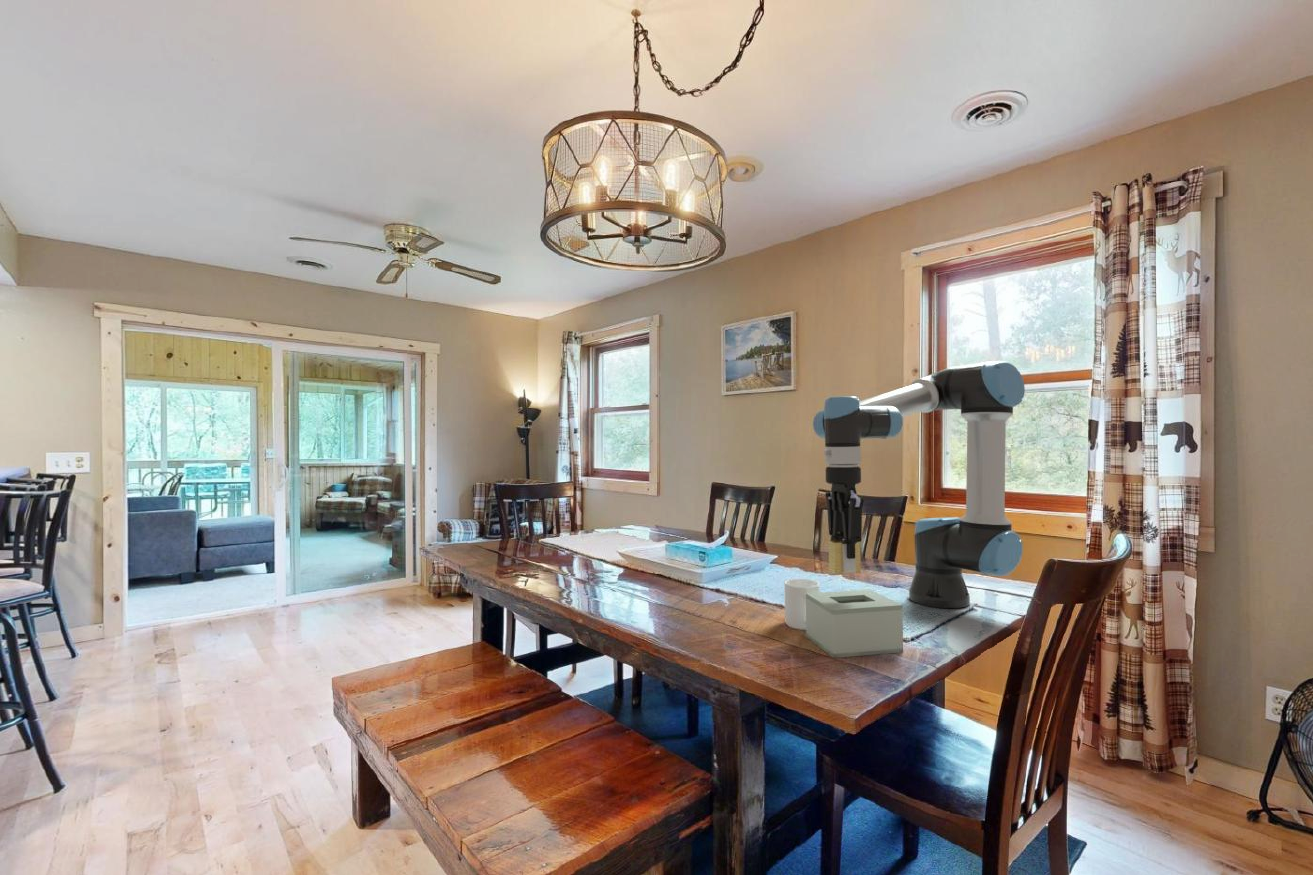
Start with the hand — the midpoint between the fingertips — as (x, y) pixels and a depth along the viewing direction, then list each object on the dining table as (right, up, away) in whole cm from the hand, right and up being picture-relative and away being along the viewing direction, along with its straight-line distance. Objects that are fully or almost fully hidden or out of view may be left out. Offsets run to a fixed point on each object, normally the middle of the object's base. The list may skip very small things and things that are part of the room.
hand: (845, 570), depth 126 cm
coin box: (+1, -16, -1) cm, 16 cm away
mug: (-6, -17, +11) cm, 21 cm away
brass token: (0, 0, 0) cm, 0 cm away
